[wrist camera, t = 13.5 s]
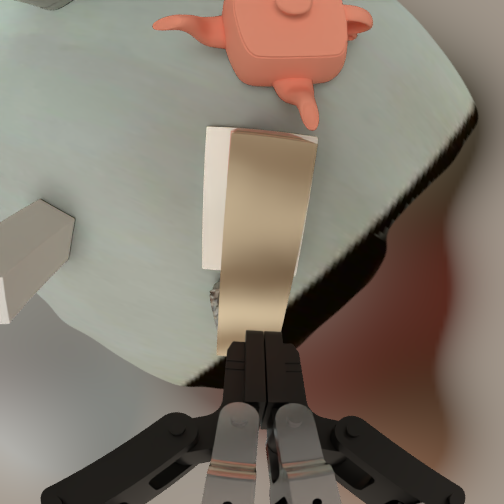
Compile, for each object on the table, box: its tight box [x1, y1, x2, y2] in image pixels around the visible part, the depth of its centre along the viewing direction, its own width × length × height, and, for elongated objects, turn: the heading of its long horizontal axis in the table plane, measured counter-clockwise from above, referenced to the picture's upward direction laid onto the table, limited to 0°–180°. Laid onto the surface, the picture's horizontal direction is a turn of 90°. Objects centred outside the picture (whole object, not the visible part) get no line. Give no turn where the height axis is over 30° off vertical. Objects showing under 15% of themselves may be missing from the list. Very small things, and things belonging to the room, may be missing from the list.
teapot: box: [152, 0, 373, 131], centre depth 17 cm, size 14×14×11 cm
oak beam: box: [217, 130, 318, 356], centre depth 19 cm, size 16×4×5 cm, turn 174°
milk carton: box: [0, 199, 75, 324], centre depth 23 cm, size 7×7×19 cm
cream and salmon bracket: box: [202, 126, 318, 276], centre depth 26 cm, size 16×11×10 cm
